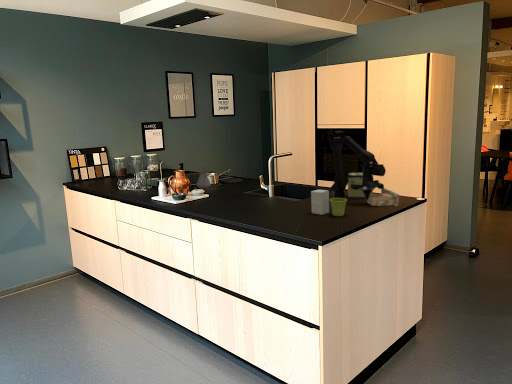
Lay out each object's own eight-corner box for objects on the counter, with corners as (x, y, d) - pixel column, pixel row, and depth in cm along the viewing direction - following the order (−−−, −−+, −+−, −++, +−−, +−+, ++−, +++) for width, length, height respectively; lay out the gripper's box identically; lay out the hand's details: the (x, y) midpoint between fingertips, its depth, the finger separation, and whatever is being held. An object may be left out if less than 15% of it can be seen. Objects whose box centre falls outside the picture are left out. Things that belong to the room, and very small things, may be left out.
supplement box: (329, 212, 236) (329, 190, 234) (321, 215, 231) (321, 192, 229) (318, 210, 241) (318, 189, 239) (311, 213, 236) (310, 191, 234)
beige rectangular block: (372, 205, 247) (372, 197, 246) (367, 202, 256) (367, 194, 255) (392, 204, 248) (392, 196, 247) (386, 201, 257) (386, 193, 256)
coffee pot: (194, 188, 337) (192, 169, 334) (206, 186, 344) (205, 168, 341) (207, 191, 320) (206, 171, 318) (220, 189, 327) (219, 170, 324)
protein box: (373, 198, 266) (373, 174, 263) (347, 199, 269) (347, 175, 266) (372, 195, 276) (372, 172, 273) (347, 195, 279) (347, 172, 276)
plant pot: (343, 212, 234) (343, 197, 233) (349, 216, 225) (349, 200, 223) (327, 213, 233) (327, 198, 231) (333, 217, 224) (333, 201, 222)
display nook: (380, 207, 242) (380, 195, 241) (366, 199, 264) (366, 188, 262) (398, 206, 243) (398, 194, 242) (383, 198, 265) (383, 187, 263)
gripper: (356, 176, 241) (355, 203, 243) (388, 176, 242) (387, 202, 245) (350, 174, 252) (349, 199, 254) (380, 173, 253) (379, 198, 256)
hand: (366, 200), depth 252 cm, fingers closed
